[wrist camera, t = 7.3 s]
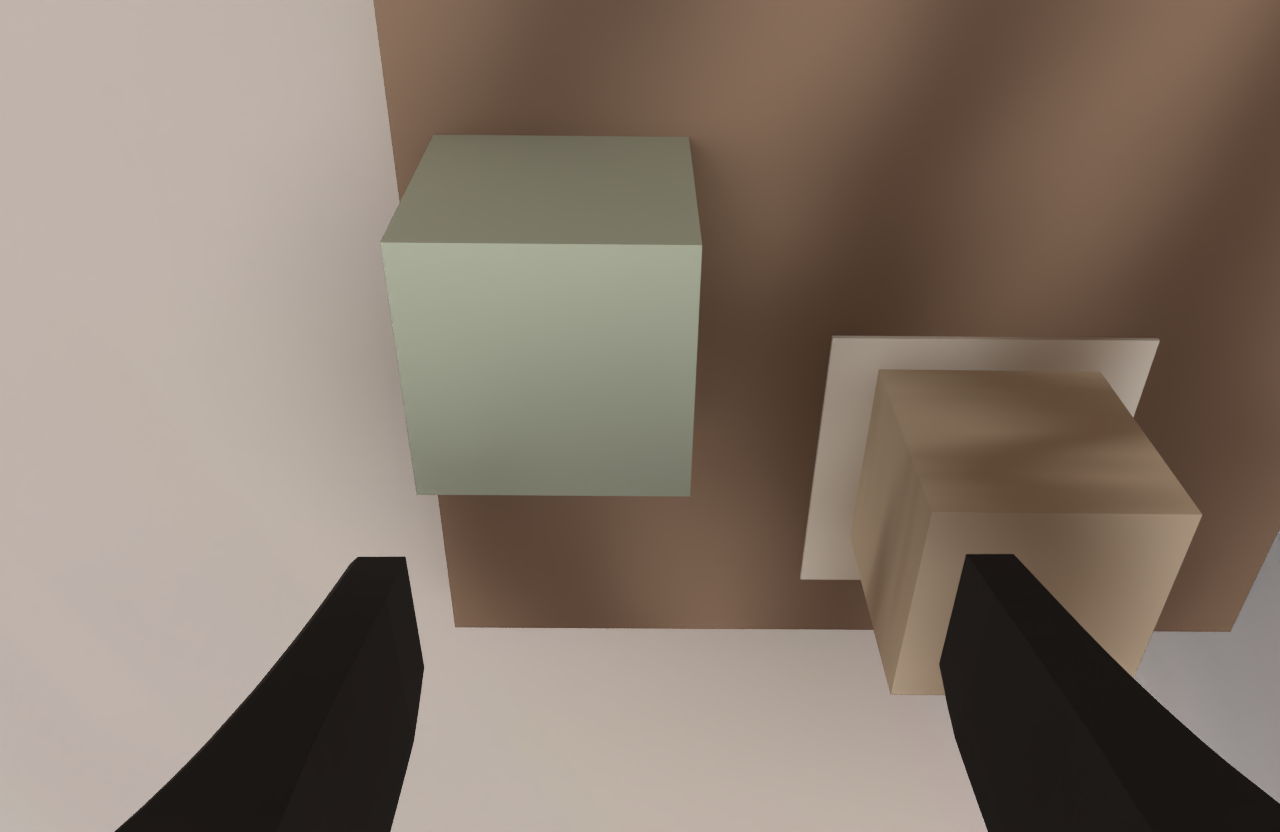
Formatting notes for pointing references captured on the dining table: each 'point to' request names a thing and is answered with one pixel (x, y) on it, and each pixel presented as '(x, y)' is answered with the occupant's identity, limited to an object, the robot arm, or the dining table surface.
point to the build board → (888, 265)
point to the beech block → (1012, 508)
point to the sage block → (548, 314)
